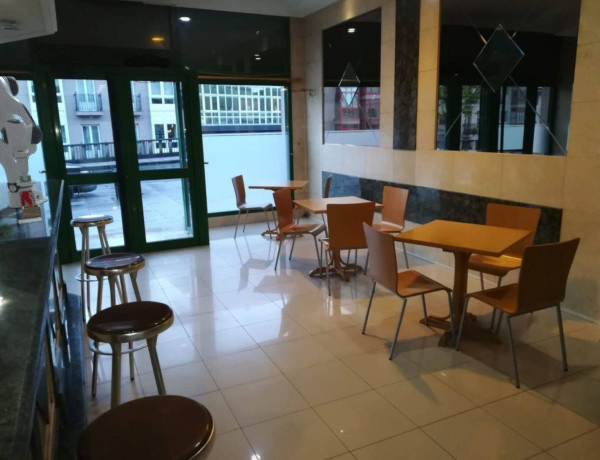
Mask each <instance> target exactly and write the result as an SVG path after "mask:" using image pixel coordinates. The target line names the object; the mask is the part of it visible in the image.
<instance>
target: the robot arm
mask: <svg viewBox="0 0 600 460" xmlns="http://www.w3.org/2000/svg"><path fill="white" fill-rule="evenodd" d="M19 91H20V85H19V82H18V81H17V80H16V78H15V77H13V76H10V75H9V76H0V135H1V138H0V165H1V166H2V168H3V169H4V170H3V171H4V174H5V176H6V181H7V183H6V187H7V189H8V191H7V198H8V204H7V207H9V208H12V209H15V208H18V209H19V208H22V207H21V202H20V197H19V193H20V190H23V189H32V191H33V192H34V196H35V201H36V205H41V204H44V203H46V202H48V201H49V199H48V198H44V194H43V192H42V191H41V190H39V189H38V188H36V187H35V186H34V185H33V186H25V187H20V185H19V186H17V181H20V178H19V176H23V179H24V181H27V180H28V178H27V175H29V171H30V170H29V159H30V158H29V157H31V156H32V155H34V154H36V152H37V150H38V145H39V144H40V143H41V142H42V141H43V139H44V138H43V137H44V135H43V131H42V130H41V127H40V126H39V125H38V124H37V123H36V121H35V119H34V118H33V116H32V115H31V113H30V111H29V110H28V108H27V107H26V105H25V104H24V103H23V102H22V101H21V100H19V99H18V98H16V96H17V95H18V94H19ZM15 115H16V116H17V117H20V118H21V119H18V118H15Z"/></svg>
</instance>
